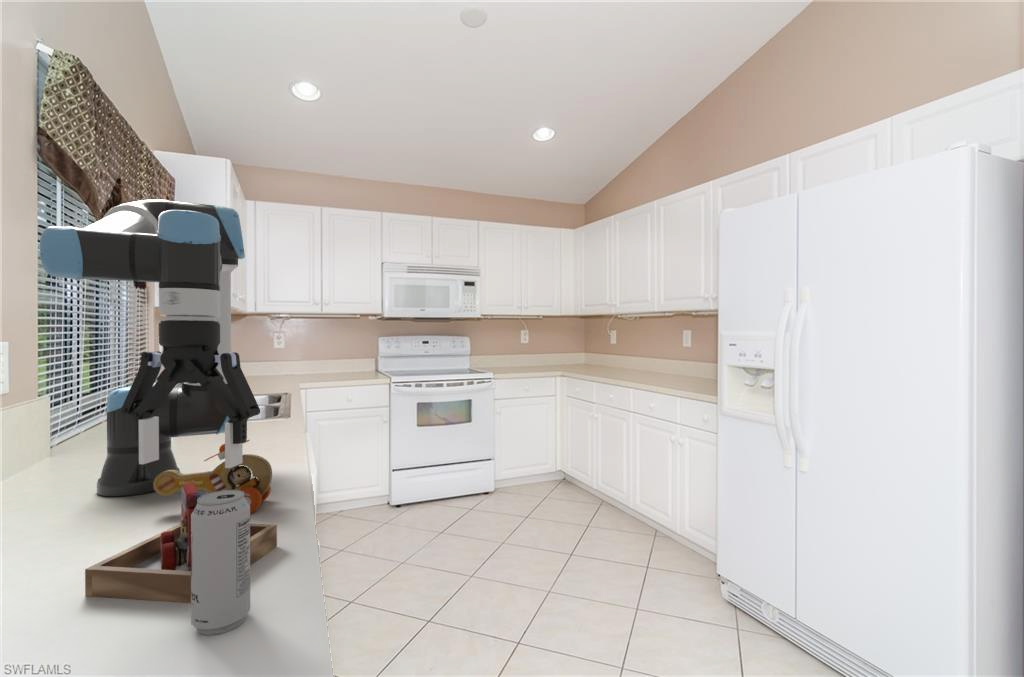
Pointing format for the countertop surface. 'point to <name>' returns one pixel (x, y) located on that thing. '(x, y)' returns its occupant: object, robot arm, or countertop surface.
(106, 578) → the brown wooden tray
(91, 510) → the countertop surface
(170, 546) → the toy fire truck
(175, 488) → the toy helicopter
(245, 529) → the energy drink can
